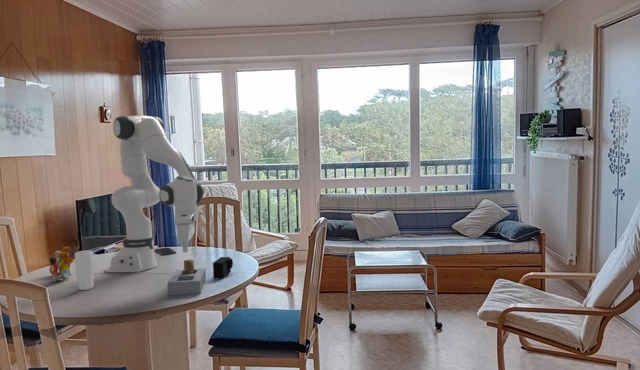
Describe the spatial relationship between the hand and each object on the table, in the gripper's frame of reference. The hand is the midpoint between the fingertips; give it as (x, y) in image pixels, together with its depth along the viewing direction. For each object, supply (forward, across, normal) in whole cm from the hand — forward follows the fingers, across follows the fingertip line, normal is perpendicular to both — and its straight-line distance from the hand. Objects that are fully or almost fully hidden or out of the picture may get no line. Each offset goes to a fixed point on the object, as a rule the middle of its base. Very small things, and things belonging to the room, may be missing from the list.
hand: (187, 249), depth 183 cm
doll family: (+16, -22, -56) cm, 62 cm away
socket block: (+14, +5, +1) cm, 15 cm away
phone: (+16, -62, -21) cm, 68 cm away
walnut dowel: (+13, 0, +1) cm, 13 cm away
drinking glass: (+16, -2, -40) cm, 43 cm away
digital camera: (+15, -10, +14) cm, 22 cm away
